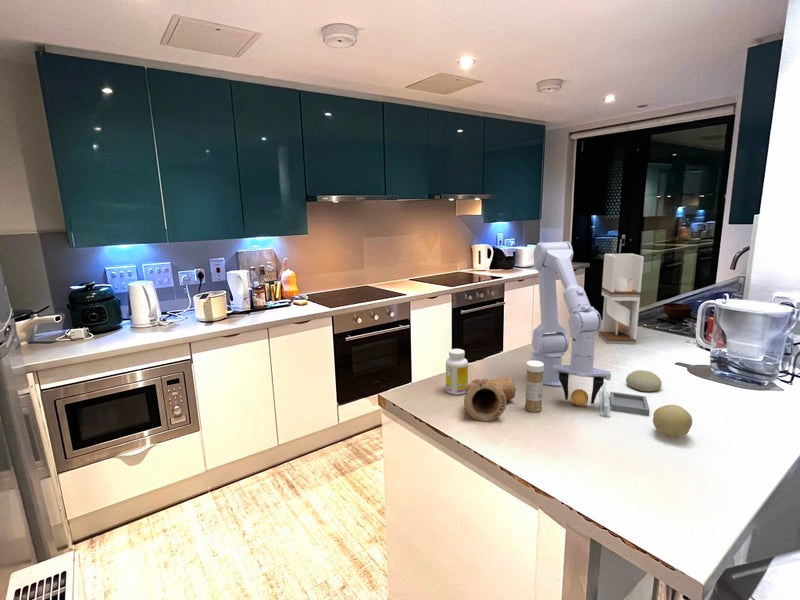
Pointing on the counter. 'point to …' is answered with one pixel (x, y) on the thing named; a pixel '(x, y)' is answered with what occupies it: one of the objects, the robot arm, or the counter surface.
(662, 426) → the potato
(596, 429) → the counter surface
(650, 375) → the sea urchin shell
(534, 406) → the sprinkles bottle
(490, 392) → the clay pipe
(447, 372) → the supplement bottle
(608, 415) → the divider
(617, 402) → the dish
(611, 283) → the tall curved cream stand
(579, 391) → the ball
